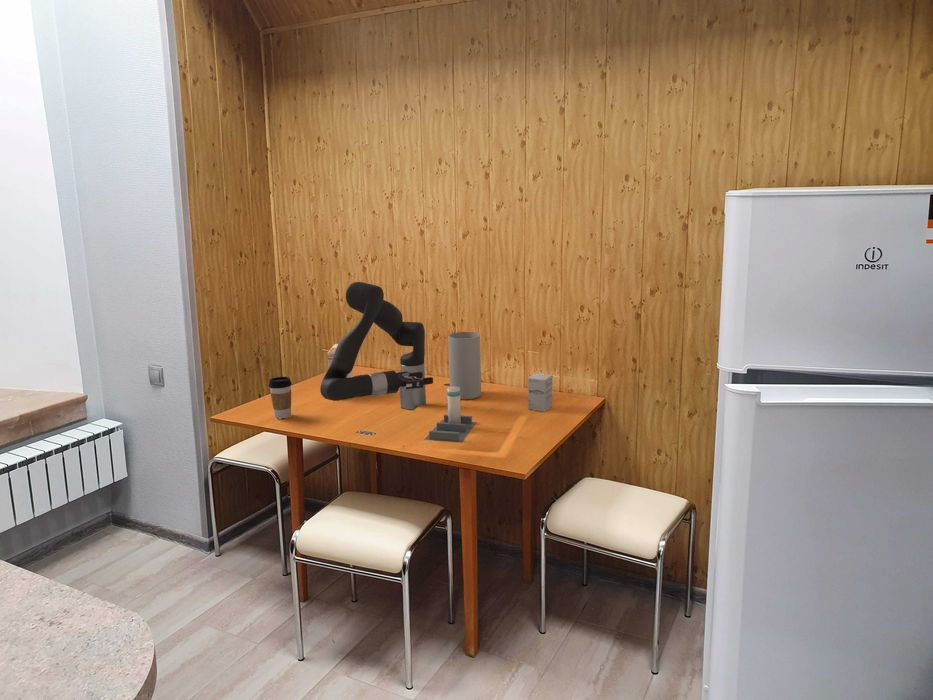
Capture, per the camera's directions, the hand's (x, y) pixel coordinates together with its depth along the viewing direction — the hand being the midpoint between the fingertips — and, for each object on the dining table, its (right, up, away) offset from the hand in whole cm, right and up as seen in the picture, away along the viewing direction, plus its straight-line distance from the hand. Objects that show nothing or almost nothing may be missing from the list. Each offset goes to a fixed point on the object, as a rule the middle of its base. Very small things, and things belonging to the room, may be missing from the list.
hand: (427, 377), depth 245 cm
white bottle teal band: (+9, -17, +9) cm, 22 cm away
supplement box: (+41, -13, +30) cm, 53 cm away
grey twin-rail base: (+8, -20, +5) cm, 22 cm away
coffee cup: (-56, -16, +29) cm, 65 cm away
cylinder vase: (+13, -9, +48) cm, 51 cm away
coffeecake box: (-38, -9, +55) cm, 67 cm away
